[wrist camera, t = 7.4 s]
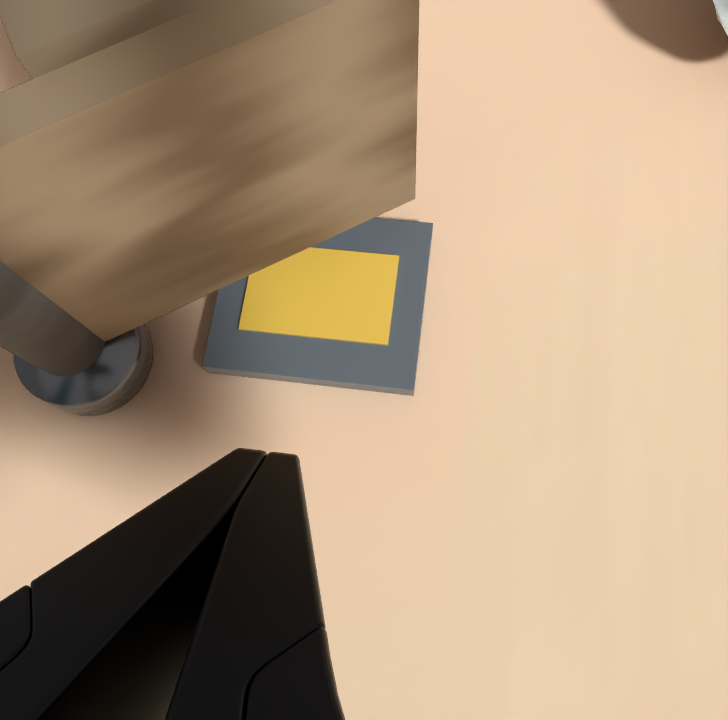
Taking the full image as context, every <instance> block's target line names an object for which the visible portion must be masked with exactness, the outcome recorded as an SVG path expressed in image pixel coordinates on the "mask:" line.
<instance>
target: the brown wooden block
mask: <svg viewBox="0 0 728 720" xmlns="http://www.w3.org/2000/svg"><path fill="white" fill-rule="evenodd" d="M0 17H1V20H2V22H3V25H4V27H5V30H6V32H7V35H8V37H9V40H10V43H11V45H12V48H13V50H14V53H15V55H16V58H17V59H18V60H19V62H20V63H21V64H22V66H23V67H24V68H25V70H26V71H27V72H28V74H29V75H30V76H31V77H32V80H30V81H28V82H25V83H23V84H21V85H18V86H16V87H14V88H11V89H9V90H6V91H4V92H2V93H0V346H1V347H2V348H4V349H6V350H8V351H9V352H11V353H13V354H15V355H17V356H18V357H20V358H22V359H24V360H25V361H27V362H29V363H31V364H33V365H34V366H36V367H38V368H40V369H41V370H43V371H45V372H47V373H49V374H51V375H55V376H71V375H75V374H78V373H80V372H82V371H84V370H86V369H87V368H88V367H90V366H91V365H92V364H93V363H94V362H95V361H96V360H97V358H98V357H99V356H100V354H101V352H102V350H103V347H104V344H105V342H106V341H108V340H110V339H112V338H115V337H117V336H119V335H121V334H123V333H125V332H128V331H130V330H132V329H134V328H136V327H138V326H141V325H143V324H145V323H147V322H149V321H151V320H154V319H156V318H158V317H160V316H162V315H164V314H167V313H169V312H171V311H173V310H175V309H177V308H180V307H182V306H184V305H186V304H188V303H190V302H193V301H195V300H197V299H199V298H201V297H203V296H206V295H208V294H210V293H212V292H214V291H216V290H219V289H221V288H223V287H225V286H227V285H229V284H232V283H234V282H236V281H238V280H240V279H242V278H245V277H247V276H249V275H251V274H253V273H255V272H257V271H260V270H262V269H264V268H266V267H268V266H270V265H273V264H275V263H277V262H279V261H281V260H283V259H286V258H288V257H290V256H292V255H294V254H296V253H299V252H301V251H303V250H305V249H307V248H309V247H312V246H314V245H316V244H318V243H320V242H322V241H325V240H327V239H329V238H331V237H333V236H335V235H338V234H340V233H342V232H344V231H346V230H348V229H351V228H353V227H355V226H357V225H359V224H361V223H364V222H366V221H368V220H370V219H372V218H374V217H377V216H379V215H381V214H383V213H385V212H387V211H390V210H392V209H394V208H396V207H398V206H400V205H403V204H405V203H407V202H409V201H411V200H413V199H415V182H416V133H417V84H418V34H419V0H0Z"/></svg>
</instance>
